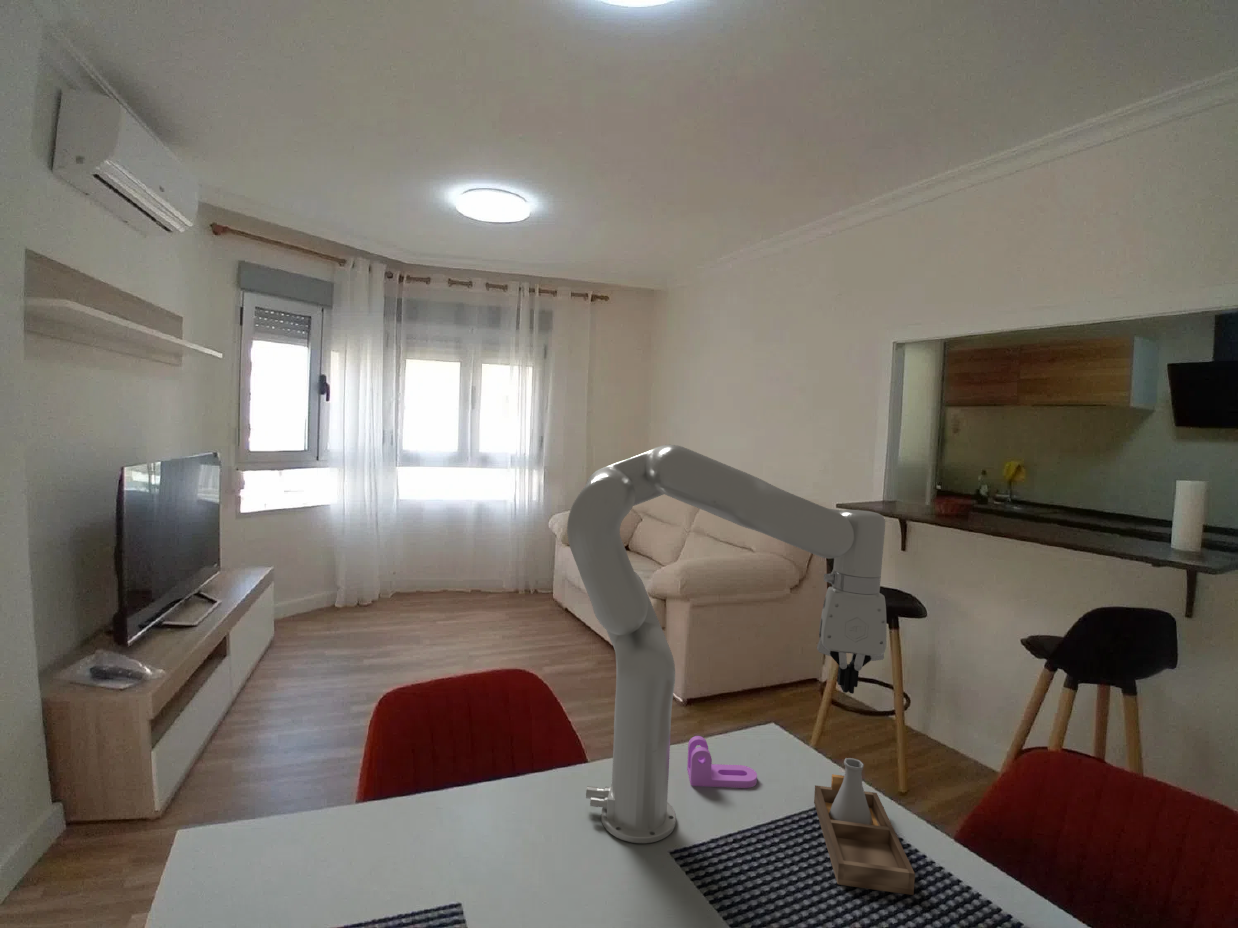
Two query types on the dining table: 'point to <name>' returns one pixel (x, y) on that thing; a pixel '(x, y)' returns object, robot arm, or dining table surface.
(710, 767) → the bracket
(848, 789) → the flask
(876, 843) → the divided wooden tray
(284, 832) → the dining table surface
